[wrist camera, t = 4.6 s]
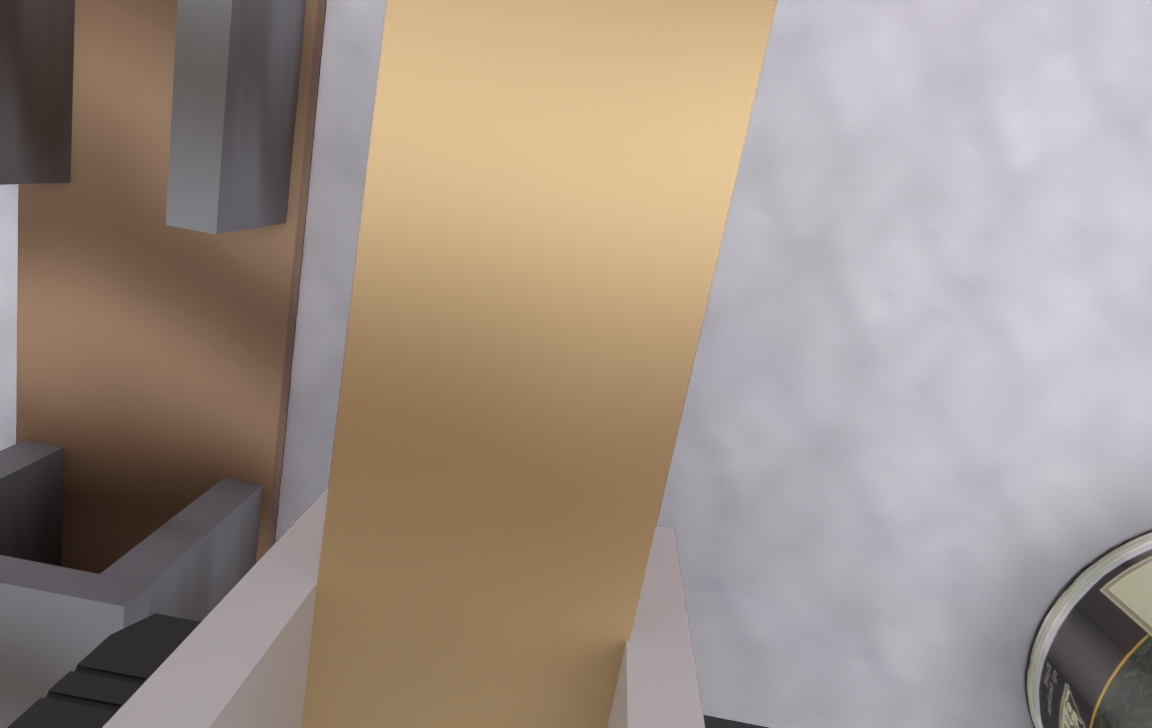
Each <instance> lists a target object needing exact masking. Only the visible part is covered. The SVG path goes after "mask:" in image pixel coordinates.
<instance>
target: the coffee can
mask: <svg viewBox="0 0 1152 728" xmlns="http://www.w3.org/2000/svg"><path fill="white" fill-rule="evenodd" d="M1027 695H1028V702H1029V709H1030V713H1031V717H1032V720H1033V723H1034V725H1035V728H1152V532H1151V533H1148V534H1145V535H1143V536H1140V537H1138V538H1136V539H1134V540H1131V541H1129V542H1128V543H1126V544H1124V545H1122V546H1120V547H1118V548H1116V549H1114V550H1113V551H1111V552H1110V553H1108V554H1107V555H1105V556H1104V557H1102V558H1101V559H1100V560H1098V561H1097V562H1096V563H1094V564H1093V565H1091V566H1090V567H1088V568H1087V569H1085V570H1084V571H1083V572H1082V573H1081V574H1080V575H1079V576H1078V577H1077V579H1076V580H1075V581H1074V582H1073V584H1072V585H1071V586H1070V587H1069V588H1067V589H1066V590H1065V592H1064V593H1063V594H1062V595H1061V596H1060V597H1059V598H1058V600H1057V601H1056V603H1055V604H1054V606H1053V607H1052V608H1051V610H1050V611H1049V613H1048V614H1047V616H1046V618H1045V620H1044V621H1043V623H1042V625H1041V627H1040V630H1039V632H1038V635H1037V637H1036V640H1035V642H1034V645H1033V648H1032V652H1031V657H1030V661H1029V666H1028V672H1027Z"/></svg>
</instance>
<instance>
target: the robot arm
mask: <svg viewBox="0 0 1152 728" xmlns="http://www.w3.org/2000/svg"><path fill="white" fill-rule="evenodd" d="M328 487H329V486H328ZM327 496H328V488H327V489H326V490H325V491H324V492H323V493H322V494H321V495H320V496H319V497H318V498H317V499H316V500H315V501H314V502H313V504H312V505H311V506H310V507H309V508H308V509H307V510H306V511H305V512H304V513H303V514H302V515H301V516H300V517H299V518H298V520H297V521H296V522H295V523H294V524H293V525H292V526H291V527H290V528H289V529H288V530H287V531H286V532H285V533H284V534H283V536H282V537H281V538H280V539H279V540H278V541H277V542H276V543H275V544H274V545H273V546H272V547H271V548H270V549H269V550H268V551H267V553H266V554H265V555H264V556H263V557H262V558H261V559H260V560H259V561H258V562H257V563H256V564H255V565H254V566H253V567H252V569H251V570H250V571H249V572H248V573H247V574H246V575H245V576H244V577H243V578H242V579H241V580H240V581H239V582H238V583H237V585H236V586H235V587H234V588H233V589H232V590H231V591H230V592H229V593H228V594H227V595H226V596H225V597H224V598H223V599H222V601H221V602H220V603H219V604H218V605H217V606H216V607H215V608H214V609H213V610H212V611H211V612H210V613H209V614H208V615H207V616H206V618H205V619H204V620H203V621H202V622H199V621H194V620H189V619H184V618H178V617H173V616H168V615H163V614H157V613H155V614H153V615H151V616H149V617H147V618H145V619H142V620H140V621H138V622H136V623H134V624H132V625H130V626H128V627H126V628H124V629H121V630H119V631H117V632H115V633H113V634H111V635H109V636H108V637H107V638H106V639H105V640H104V641H103V642H102V643H101V644H99V645H98V646H97V647H96V648H95V649H94V650H93V651H92V652H91V653H89V654H88V655H87V656H86V657H85V658H84V659H83V660H82V661H81V662H79V663H78V664H77V667H76V669H75V671H74V672H73V671H69V672H68V673H67V674H66V675H65V676H64V677H63V678H62V679H61V680H59V681H58V682H57V683H56V684H55V685H54V686H53V687H52V688H51V689H49V690H48V694H47V696H46V697H45V698H42V697H41V698H39V699H38V700H37V701H36V702H35V703H34V704H33V705H32V706H31V707H29V708H28V709H27V710H26V711H25V712H24V713H23V714H22V715H21V716H19V717H18V718H17V719H16V720H15V721H14V722H13V723H12V724H11V725H9V726H8V727H7V728H301V725H302V717H303V708H304V699H305V690H306V681H307V672H308V663H309V654H310V645H311V636H312V627H313V618H314V609H315V600H316V591H317V579H318V571H319V562H320V554H321V546H322V537H323V529H324V521H325V512H326V504H327ZM607 728H768V727H763V726H758V725H752V724H747V723H742V722H737V721H732V720H726V719H721V718H716V717H711V716H706V715H703V710H702V704H701V698H700V691H699V685H698V678H697V672H696V666H695V659H694V653H693V646H692V640H691V634H690V627H689V621H688V614H687V608H686V601H685V595H684V589H683V582H682V576H681V569H680V563H679V557H678V550H677V544H676V537H675V531H674V528H670V527H664V526H659V525H656V528H655V533H654V537H653V541H652V546H651V550H650V554H649V559H648V563H647V567H646V572H645V576H644V580H643V585H642V589H641V594H640V598H639V602H638V607H637V611H636V615H635V620H634V624H633V628H632V633H631V637H630V641H626V645H625V649H624V654H623V658H622V663H621V667H620V672H619V676H618V681H617V685H616V690H615V695H614V699H613V704H612V708H611V713H610V717H609V722H608V726H607Z"/></svg>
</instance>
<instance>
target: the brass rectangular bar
mask: <svg viewBox="0 0 1152 728" xmlns="http://www.w3.org/2000/svg"><path fill="white" fill-rule="evenodd" d="M776 3H777V0H387V4H386V12H385V21H384V29H383V37H382V46H381V54H380V62H379V71H378V79H377V87H376V96H375V104H374V112H373V121H372V129H371V137H370V146H369V154H368V162H367V171H366V179H365V187H364V196H363V204H362V212H361V221H360V229H359V237H358V246H357V254H356V262H355V271H354V279H353V287H352V296H351V304H350V312H349V321H348V329H347V337H346V346H345V354H344V362H343V371H342V379H341V387H340V396H339V404H338V412H337V421H336V429H335V437H334V446H333V454H332V462H331V471H330V479H329V487H328V496H327V504H326V512H325V521H324V529H323V537H322V546H321V554H320V562H319V571H318V579H317V591H316V600H315V609H314V618H313V627H312V636H311V645H310V654H309V663H308V672H307V681H306V690H305V699H304V708H303V717H302V725H301V728H607V726H608V722H609V717H610V713H611V708H612V704H613V699H614V695H615V690H616V685H617V681H618V676H619V672H620V667H621V663H622V658H623V654H624V649H625V645H626V641H630V637H631V633H632V628H633V624H634V620H635V615H636V611H637V607H638V602H639V598H640V594H641V589H642V585H643V580H644V576H645V572H646V567H647V563H648V559H649V554H650V550H651V546H652V541H653V537H654V533H655V528H656V524H657V520H658V515H659V511H660V507H661V502H662V498H663V494H664V489H665V485H666V481H667V476H668V472H669V468H670V463H671V459H672V455H673V450H674V446H675V441H676V437H677V433H678V428H679V424H680V420H681V415H682V411H683V407H684V402H685V398H686V394H687V389H688V385H689V381H690V376H691V372H692V368H693V363H694V359H695V355H696V350H697V346H698V342H699V337H700V333H701V329H702V324H703V320H704V315H705V311H706V307H707V302H708V298H709V294H710V289H711V285H712V281H713V276H714V272H715V268H716V263H717V259H718V255H719V250H720V246H721V242H722V237H723V233H724V229H725V224H726V220H727V216H728V211H729V207H730V203H731V198H732V194H733V189H734V185H735V181H736V176H737V172H738V168H739V163H740V159H741V155H742V150H743V146H744V142H745V137H746V133H747V129H748V124H749V120H750V116H751V111H752V107H753V103H754V98H755V94H756V90H757V85H758V81H759V77H760V72H761V68H762V64H763V59H764V55H765V50H766V46H767V42H768V37H769V33H770V29H771V24H772V20H773V16H774V11H775V7H776Z"/></svg>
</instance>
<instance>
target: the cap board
mask: <svg viewBox="0 0 1152 728" xmlns="http://www.w3.org/2000/svg"><path fill="white" fill-rule="evenodd" d="M325 9H326V0H0V185H1V184H19V195H18V310H17V425H16V444H15V445H13V446H11V447H9V448H7V449H4V450H2V451H0V728H7V727H8V726H9V725H11V724H12V723H13V722H14V721H15V720H16V719H17V718H18V717H19V716H21V715H22V714H23V713H24V712H25V711H26V710H27V709H28V708H29V707H31V706H32V705H33V704H34V703H35V702H36V701H37V700H38V699H39V698H41V697H42V698H45V697H46V696H47V694H48V690H49V689H51V688H52V687H53V686H54V685H55V684H56V683H57V682H58V681H59V680H61V679H62V678H63V677H64V676H65V675H66V674H67V673H68V672H69V671H73V672H74V671H75V669H76V667H77V664H78V663H79V662H81V661H82V660H83V659H84V658H85V657H86V656H87V655H88V654H89V653H91V652H92V651H93V650H94V649H95V648H96V647H97V646H98V645H99V644H101V643H102V642H103V641H104V640H105V639H106V638H107V637H108V636H109V635H111V634H113V633H115V632H117V631H119V630H121V629H124V628H126V627H128V626H130V625H132V624H134V623H136V622H138V621H140V620H142V619H145V618H147V617H149V616H151V615H153V614H155V613H157V614H163V615H168V616H173V617H178V618H184V619H189V620H194V621H199V622H202V621H203V620H204V619H205V618H206V616H207V615H208V614H209V613H210V612H211V611H212V610H213V609H214V608H215V607H216V606H217V605H218V604H219V603H220V602H221V601H222V599H223V598H224V597H225V596H226V595H227V594H228V593H229V592H230V591H231V590H232V589H233V588H234V587H235V586H236V585H237V583H238V582H239V581H240V580H241V579H242V578H243V577H244V576H245V575H246V574H247V573H248V572H249V571H250V570H251V569H252V567H253V566H254V565H255V564H256V563H257V562H258V561H259V560H260V559H261V558H262V557H263V556H264V555H265V554H266V553H267V551H268V550H269V549H270V548H271V547H272V546H273V545H274V543H275V533H276V522H277V512H278V501H279V491H280V480H281V470H282V459H283V449H284V438H285V428H286V417H287V407H288V396H289V386H290V376H291V365H292V355H293V344H294V334H295V323H296V313H297V302H298V292H299V281H300V271H301V260H302V250H303V239H304V229H305V218H306V208H307V197H308V187H309V176H310V166H311V155H312V145H313V135H314V124H315V114H316V103H317V93H318V82H319V72H320V61H321V51H322V40H323V30H324V19H325Z"/></svg>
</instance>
